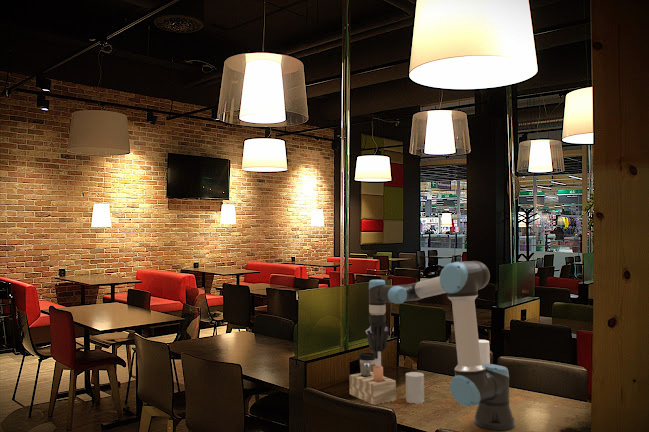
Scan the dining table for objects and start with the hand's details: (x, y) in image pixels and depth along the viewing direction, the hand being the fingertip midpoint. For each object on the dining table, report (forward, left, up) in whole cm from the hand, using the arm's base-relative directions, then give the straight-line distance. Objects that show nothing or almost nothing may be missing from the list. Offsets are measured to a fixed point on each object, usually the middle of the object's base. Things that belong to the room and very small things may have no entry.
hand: (378, 365), depth 252 cm
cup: (-10, -13, -16) cm, 23 cm away
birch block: (+5, 0, -16) cm, 16 cm away
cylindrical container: (-20, -45, -16) cm, 52 cm away
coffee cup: (+26, -12, -16) cm, 33 cm away
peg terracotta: (0, 0, -10) cm, 10 cm away
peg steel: (+10, 0, -10) cm, 14 cm away
